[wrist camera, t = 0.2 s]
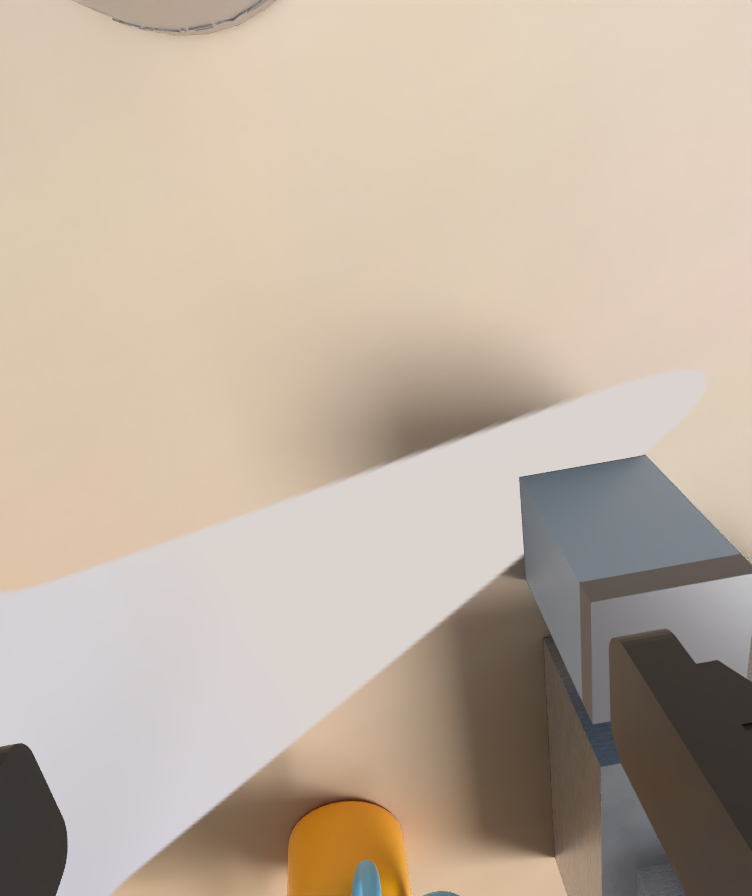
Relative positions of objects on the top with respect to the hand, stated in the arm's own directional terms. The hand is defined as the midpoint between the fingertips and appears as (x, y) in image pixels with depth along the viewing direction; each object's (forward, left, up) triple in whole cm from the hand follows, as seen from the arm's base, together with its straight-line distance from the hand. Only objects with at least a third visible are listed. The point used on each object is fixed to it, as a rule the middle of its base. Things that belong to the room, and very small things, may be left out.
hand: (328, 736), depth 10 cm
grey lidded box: (+9, +10, -18) cm, 22 cm away
